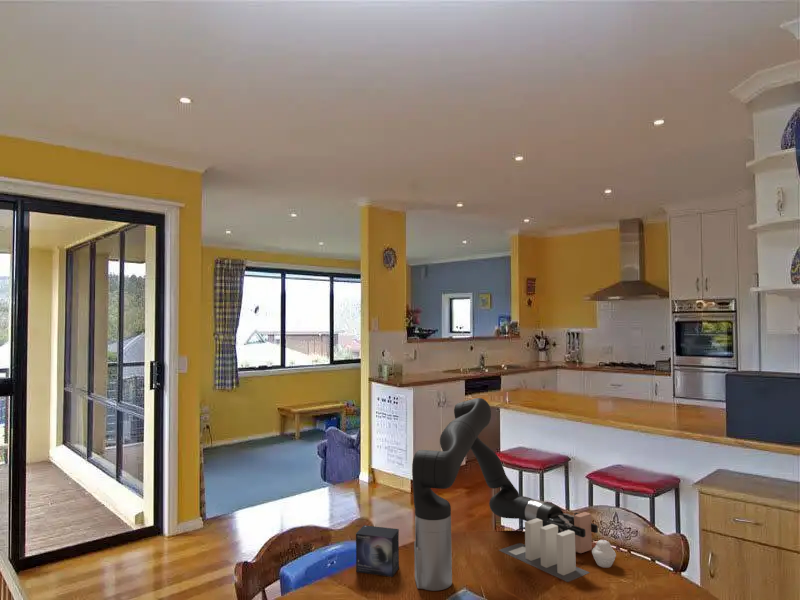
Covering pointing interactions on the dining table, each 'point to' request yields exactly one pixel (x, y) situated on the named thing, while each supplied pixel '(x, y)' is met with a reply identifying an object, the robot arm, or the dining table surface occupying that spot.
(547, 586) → the dining table surface
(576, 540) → the terracotta domino
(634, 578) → the dining table surface
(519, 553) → the domino mat
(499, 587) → the dining table surface
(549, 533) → the ivory domino
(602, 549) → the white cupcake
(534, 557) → the ivory domino
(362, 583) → the dining table surface
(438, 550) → the robot arm
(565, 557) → the ivory domino
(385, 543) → the small box
